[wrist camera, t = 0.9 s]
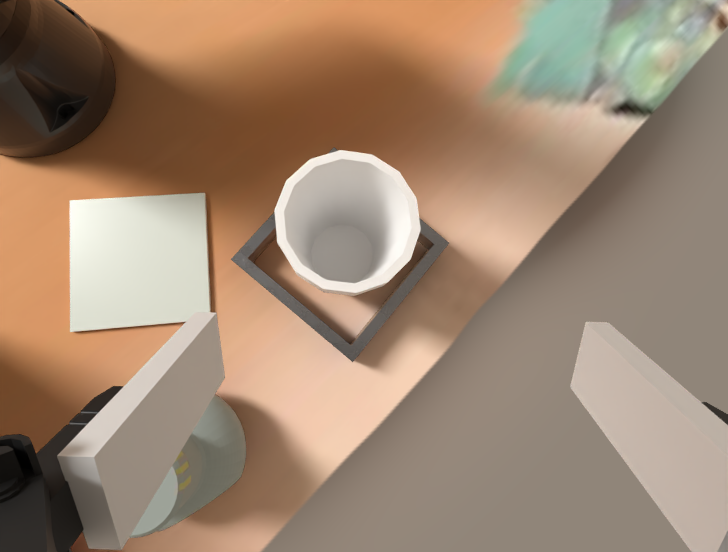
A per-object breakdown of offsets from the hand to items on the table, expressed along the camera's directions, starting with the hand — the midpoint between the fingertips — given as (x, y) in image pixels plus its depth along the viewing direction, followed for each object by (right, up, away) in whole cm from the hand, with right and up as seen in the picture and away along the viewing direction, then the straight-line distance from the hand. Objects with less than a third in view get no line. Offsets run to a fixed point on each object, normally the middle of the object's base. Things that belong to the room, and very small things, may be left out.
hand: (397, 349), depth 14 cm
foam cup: (-3, +5, +24) cm, 25 cm away
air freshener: (-17, -12, +21) cm, 30 cm away
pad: (-22, +4, +22) cm, 31 cm away
